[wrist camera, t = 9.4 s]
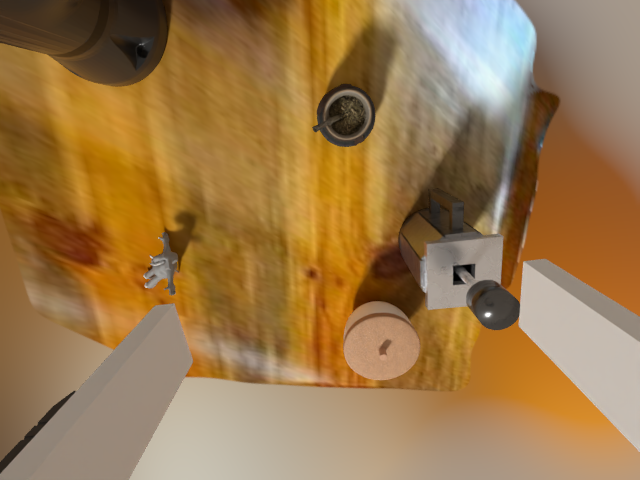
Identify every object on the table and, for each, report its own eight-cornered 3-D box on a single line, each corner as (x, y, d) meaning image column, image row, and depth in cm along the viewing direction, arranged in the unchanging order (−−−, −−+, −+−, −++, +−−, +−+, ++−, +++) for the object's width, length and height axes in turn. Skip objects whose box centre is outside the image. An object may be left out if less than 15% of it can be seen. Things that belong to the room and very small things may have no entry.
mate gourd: (382, 126, 44) (396, 126, 34) (334, 157, 45) (335, 165, 36) (355, 76, 42) (361, 61, 32) (305, 110, 43) (298, 106, 34)
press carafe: (395, 190, 46) (420, 211, 34) (462, 182, 46) (511, 201, 33) (399, 269, 50) (422, 314, 38) (460, 263, 50) (504, 307, 37)
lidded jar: (346, 351, 55) (350, 393, 46) (336, 295, 52) (338, 329, 43) (410, 342, 54) (426, 384, 45) (404, 284, 51) (420, 317, 42)
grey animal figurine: (126, 250, 51) (151, 221, 46) (165, 253, 55) (191, 227, 50) (131, 312, 47) (158, 288, 42) (172, 310, 51) (201, 288, 46)
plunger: (414, 227, 45) (467, 286, 28) (455, 222, 45) (535, 280, 28) (415, 264, 47) (466, 342, 30) (455, 260, 47) (529, 336, 29)
